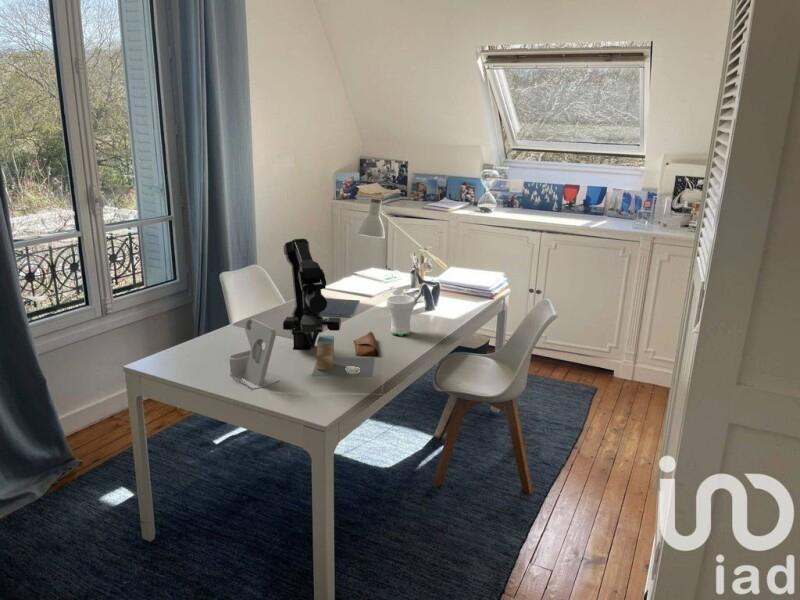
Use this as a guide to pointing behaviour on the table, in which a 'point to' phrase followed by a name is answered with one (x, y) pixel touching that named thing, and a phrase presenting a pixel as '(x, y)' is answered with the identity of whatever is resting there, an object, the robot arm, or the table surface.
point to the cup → (400, 313)
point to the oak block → (325, 352)
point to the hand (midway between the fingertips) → (313, 347)
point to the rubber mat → (341, 364)
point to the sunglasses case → (366, 345)
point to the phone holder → (255, 356)
